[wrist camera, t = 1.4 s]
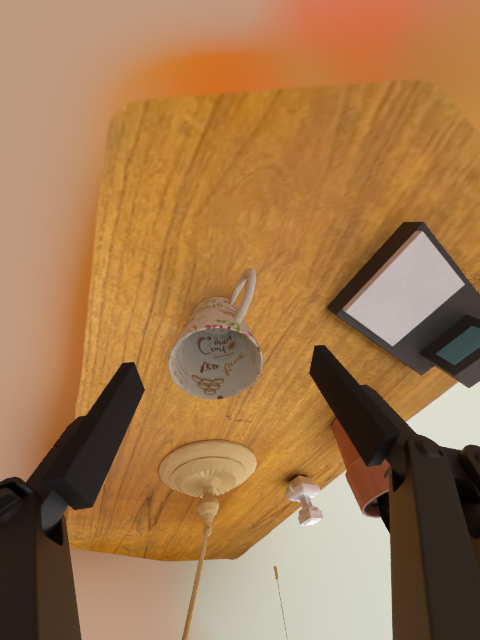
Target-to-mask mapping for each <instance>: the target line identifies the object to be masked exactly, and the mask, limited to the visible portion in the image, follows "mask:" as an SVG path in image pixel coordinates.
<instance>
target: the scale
mask: <svg viewBox="0 0 480 640" xmlns="http://www.w3.org/2000/svg"><path fill="white" fill-rule="evenodd" d="M327 308H328V309H329V310H330V311H331V312H333V313H334V314H335V315H337V316H338V317H339V318H341V319H342V320H344V321H345V322H347V323H348V324H349V325H351V326H352V327H354V328H355V329H356V330H358V331H359V332H361V333H362V334H363V335H365V336H366V337H368V338H369V339H371V340H372V341H373V342H375V343H376V344H378V345H379V346H380V347H382V348H383V349H385V350H386V351H388V352H389V353H390V354H392V355H393V356H395V357H396V358H397V359H399V360H400V361H402V362H403V363H404V364H406V365H407V366H409V367H410V368H412V369H413V370H414V371H416V372H417V373H419V374H420V375H423V374H424V373H426V372H427V371H428V370H430V369H431V368H432V367H434V366H436V367H437V368H439V369H440V370H442V371H444V372H445V373H447V374H448V375H450V376H451V377H453V378H454V379H456V380H457V381H459V382H460V383H462V384H463V385H465V386H466V387H468V388H470V387H471V386H473V385H475V384H476V383H477V382H479V381H480V295H479V293H478V292H477V291H476V289H475V288H474V287H473V286H472V284H471V283H470V282H469V280H468V279H467V278H466V277H465V275H464V274H463V273H462V271H461V270H460V269H459V267H458V266H457V265H456V264H455V262H454V261H453V260H452V258H451V257H450V256H449V254H448V253H447V252H446V251H445V249H444V248H443V247H442V245H441V244H440V243H439V241H438V240H437V239H436V238H435V236H434V235H433V234H432V232H431V231H430V230H429V229H428V227H427V226H426V225H425V223H424V222H404V223H403V224H402V225H401V226H400V227H399V228H398V229H397V231H396V232H395V233H394V234H393V235H392V236H391V237H390V238H389V239H388V240H387V242H386V243H385V244H384V245H383V246H382V247H381V248H380V249H379V250H378V252H377V253H376V254H375V255H374V256H373V257H372V258H371V259H370V260H369V261H368V263H367V264H366V265H365V266H364V267H363V268H362V269H361V270H360V271H359V273H358V274H357V275H356V276H355V277H354V278H353V279H352V280H351V281H350V282H349V284H348V285H347V286H346V287H345V288H344V289H343V290H342V291H341V292H340V294H339V295H338V296H337V297H336V298H335V299H334V300H333V301H332V302H331V303H330V305H329V306H328V307H327Z"/></svg>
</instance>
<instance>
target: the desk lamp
mask: <svg viewBox="0 0 480 640" xmlns="http://www.w3.org/2000/svg"><path fill="white" fill-rule="evenodd" d="M256 465H257V462H256V457H255V455H254V453H253V452H252V451H251V450H250V449H248V448H247V447H245V446H244V445H241V444H238V443H236V442H231V441H225V440H208V441H199V442H195V443H191V444H187V445H185V446H182V447H180V448H177V449H176V450H174V451H172V452H171V453H169V454H168V455H167V456H166V457H165V458H164V459H163V461H162V462H161V464H160V467H159V476H160V479H161V480H162V481H163V482H164V483H165V484H166V485H167V486H168V487H169V488H171V489H173V490H176V491H179V492H182V493H184V494H188V495H189V496H193V497H197V496H198V497H199V498H201V497H203V498H202V499H200V502H199V504H198V507H197V510H198V514H199V516H201V518H202V520H203V524H204V525H205V528H204V530H203V533H204V540H203V545H202V549H201V554H200V559H199V564H198V568H197V572H196V577H195V582H194V586H193V592H192V596H191V600H190V605H189V610H188V615H187V619H186V623H185V628H184V633H183V637H182V640H187V637H188V633H189V628H190V623H191V618H192V613H193V609H194V604H195V599H196V594H197V589H198V584H199V579H200V575H201V570H202V565H203V560H204V555H205V550H206V545H207V541H208V537H209V536H210V534H211V524H212V521H213V518H214V515H216V514H217V511H218V507H219V503H218V500H217V498H215V497H214V496H218V495H220V494H224V493H225V492H228V491H229V490H232V488H234V487H236V486H239V485H241V484H242V483H243V482H244V481H246V480H247V479H248V478H249V477H250V476H251V475H252V473H253V472H254V471H255V468H256ZM274 570H275V576H276V579H278V575H277V568H276V566H274Z"/></svg>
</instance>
